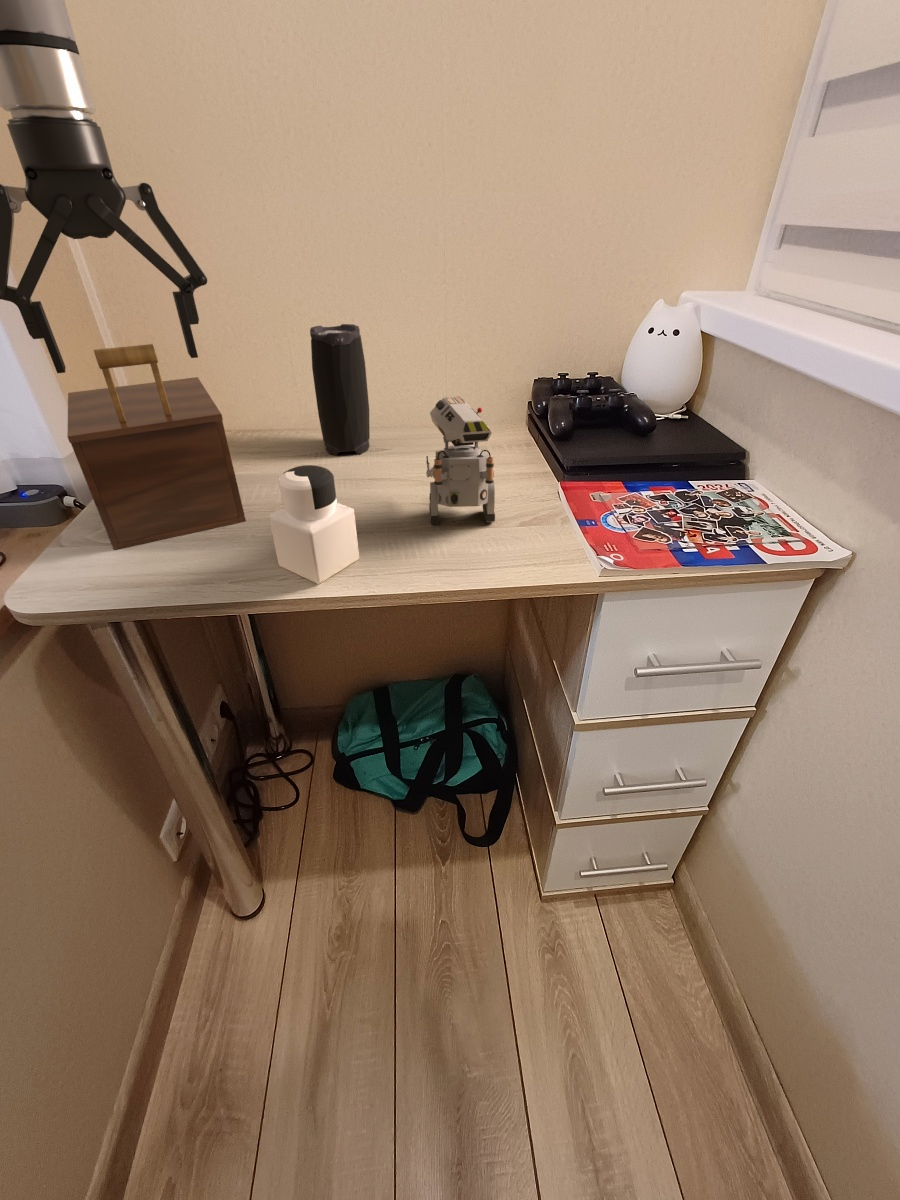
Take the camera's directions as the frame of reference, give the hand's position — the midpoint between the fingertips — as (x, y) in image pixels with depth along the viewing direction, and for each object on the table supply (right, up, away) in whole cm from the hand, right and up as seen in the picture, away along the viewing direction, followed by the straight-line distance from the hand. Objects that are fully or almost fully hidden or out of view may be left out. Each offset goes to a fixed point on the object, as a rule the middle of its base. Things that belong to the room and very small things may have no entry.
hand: (130, 362), depth 65 cm
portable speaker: (+18, 0, +36) cm, 41 cm away
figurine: (+38, -14, +17) cm, 44 cm away
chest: (-3, -14, +18) cm, 23 cm away
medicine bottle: (+20, -22, +6) cm, 31 cm away
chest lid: (-3, -2, +9) cm, 10 cm away
